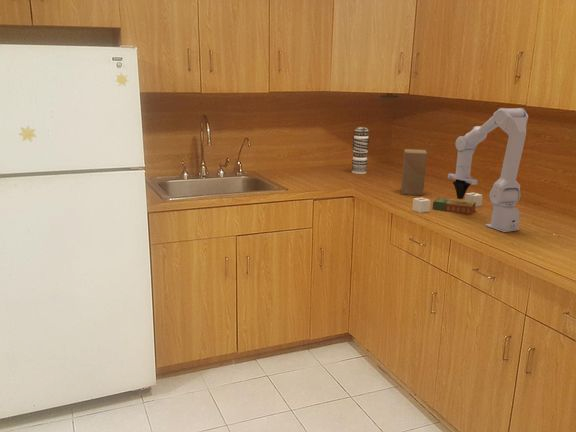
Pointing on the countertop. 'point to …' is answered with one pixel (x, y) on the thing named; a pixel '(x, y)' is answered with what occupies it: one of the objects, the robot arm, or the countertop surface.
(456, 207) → the carton
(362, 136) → the decorative candle
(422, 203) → the number block 1
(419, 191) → the wooden block
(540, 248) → the countertop surface
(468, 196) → the number block 7
